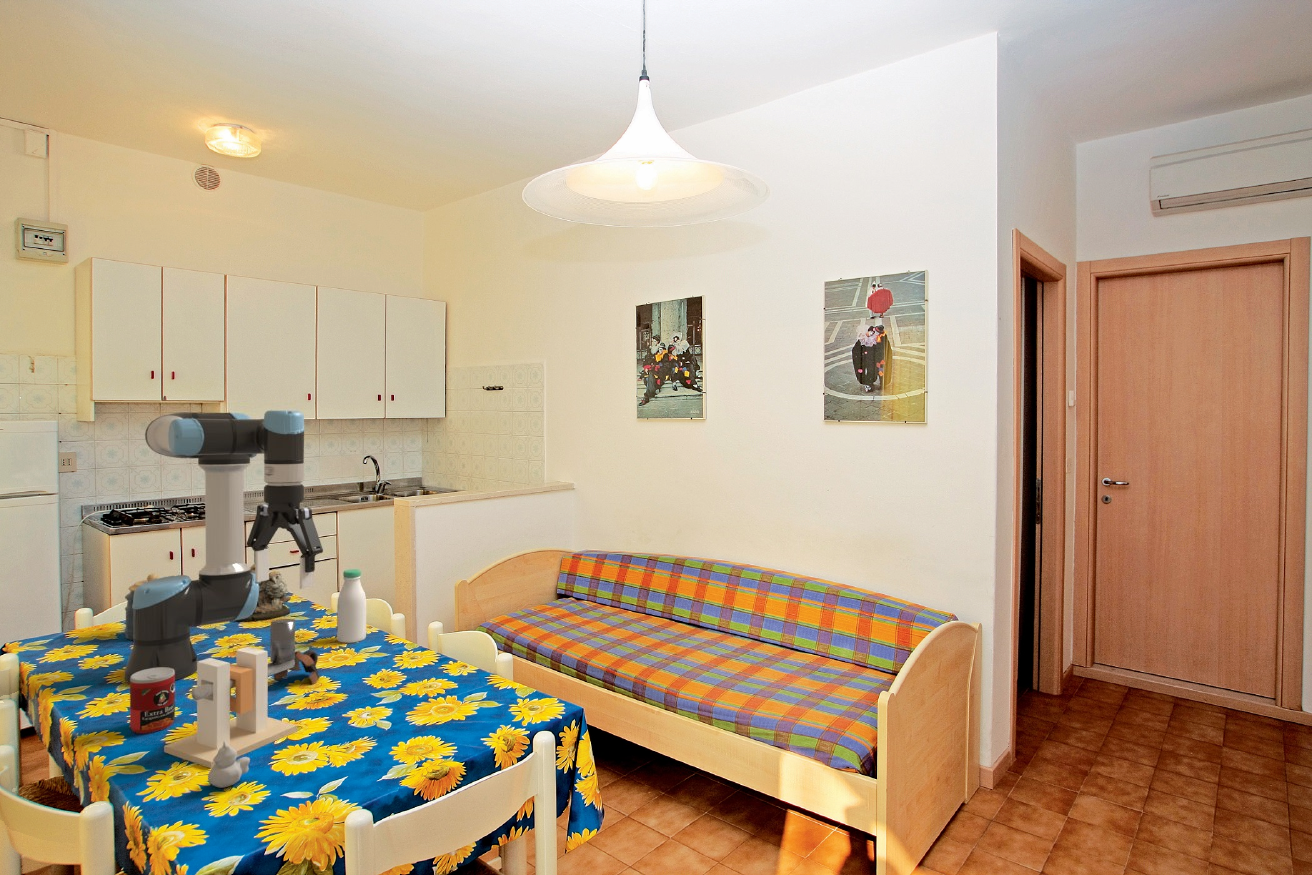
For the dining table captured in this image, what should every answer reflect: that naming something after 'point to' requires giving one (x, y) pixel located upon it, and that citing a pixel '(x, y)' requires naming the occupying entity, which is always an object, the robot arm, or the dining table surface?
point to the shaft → (279, 654)
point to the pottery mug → (308, 663)
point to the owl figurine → (270, 598)
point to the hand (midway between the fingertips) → (283, 584)
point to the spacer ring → (242, 689)
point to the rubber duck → (227, 767)
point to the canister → (130, 602)
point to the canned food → (152, 699)
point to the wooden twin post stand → (215, 713)
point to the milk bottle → (351, 609)
